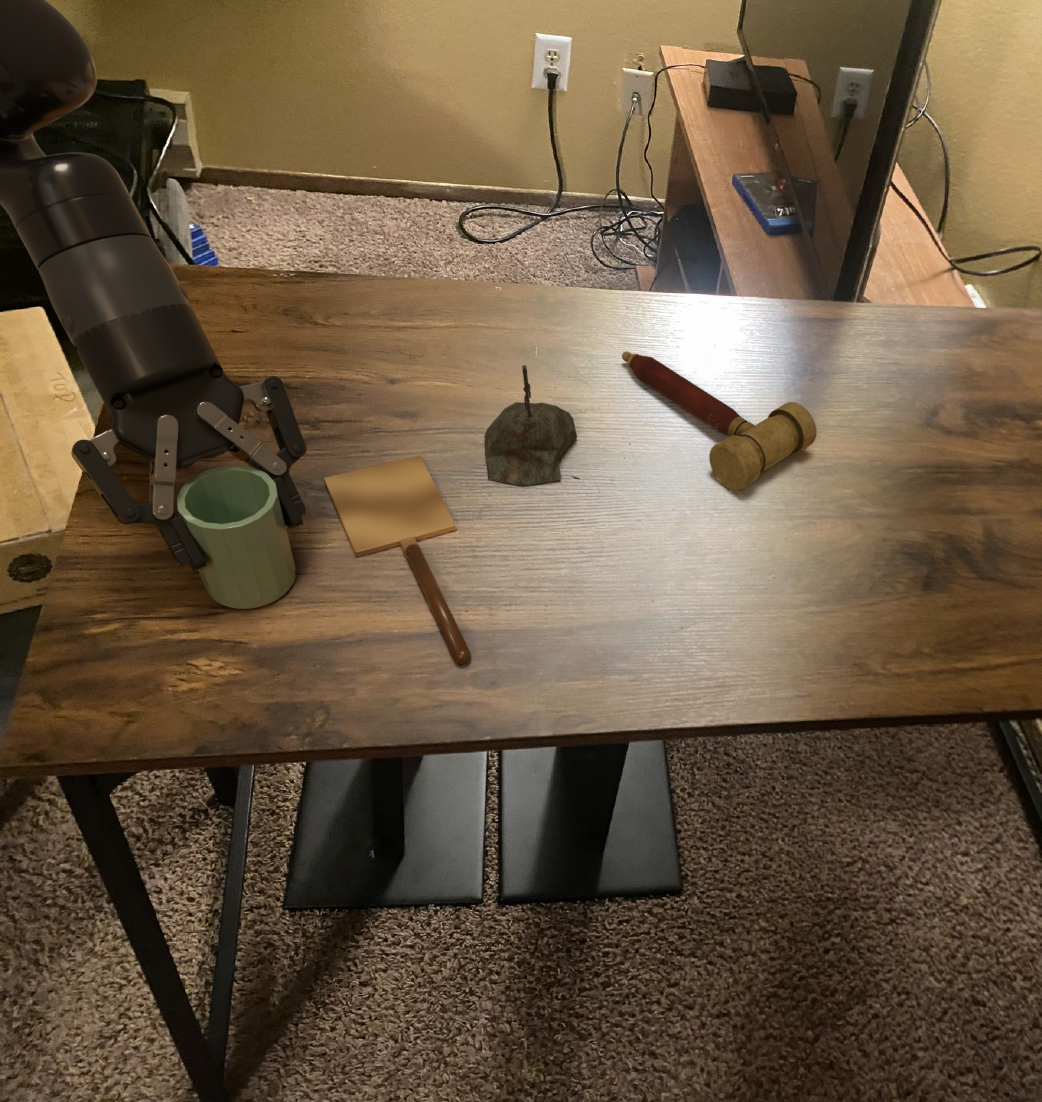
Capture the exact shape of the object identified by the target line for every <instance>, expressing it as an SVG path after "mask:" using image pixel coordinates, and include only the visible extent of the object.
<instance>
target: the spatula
mask: <svg viewBox="0 0 1042 1102" xmlns="http://www.w3.org/2000/svg"><path fill="white" fill-rule="evenodd" d="M323 483H324V486H325V487H326V489H327V492H328V494H329V496H330V499H331V501H332V503H333V506H334V508H335V510H336V513H337V515H338V517H339V521H340V522H341V525H342V527H343V529H344V532H345V533H346V534H345V535H346V536H347V539H348V541H349V544H350V546H351V548H352V551H353V553H354V555H355V557H356V558H360V557H363V556H368V555H370V554H375V553H378V552H382V551H385V550H388V549H392V548H396V547H400V548H401V550H402V552H403V555H404V557H405V558H406V559H407V560H408V562H409V565H410V567H411V570H412V571H413V573H414V576H415V578H416V580H417V582H418V584H419V587H420V588H421V590H422V593H423V594H424V595H423V596H424V597H425V599H426V601H427V604H428V605H429V607H430V610H431V612H432V615H433V617H434V618H435V621H436V622H437V625H438V627H439V629H440V631H441V633H442V635H443V638H444V640H445V643H446V644H447V646H448V648H449V650H450V652H451V655H452V657H453V659H454V661H455V662H456V663H457V664H459V665H466V664H467V663H469V662H470V660H471V658H472V653H471V651H470V649H469V647H468V645H467V642H466V640H465V638H464V636H463V634H462V632H461V630H460V628H459V625H458V624H457V621H456V619H455V618H454V615H453V613H452V611H451V609H450V607H449V605H448V603H447V600H446V598H445V597H444V594H443V592H442V590H441V588H440V586H439V583H438V582H437V580H436V577H435V575H434V573H433V572H432V569H431V567H430V565H429V563H428V561H427V559H426V557H425V555H424V553H423V551H422V548H421V546H419V543H418V542H419V541H422V540H427V539H429V538H433V537H437V536H440V535H445V534H448V533H451V532H454V531H457V524H456V522H455V520H454V518H453V516H452V514H451V513H450V511H449V508H448V507H447V505H446V502H445V501H444V499H443V497H442V495H441V493H440V491H439V489H438V487H437V485H436V484H435V481H434V479H433V477H432V476H431V474H430V472H429V470H428V468H427V466H426V464H425V462H424V460H423V458H422V456H421V455H419V454H418V455H415V456H411V457H406V458H402V459H398V460H395V461H390V462H386V463H382V464H377V465H373V466H369V467H364V468H360V469H356V470H351V471H347V472H343V473H338V474H334V475H329V476H326V477H323Z"/></svg>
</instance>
